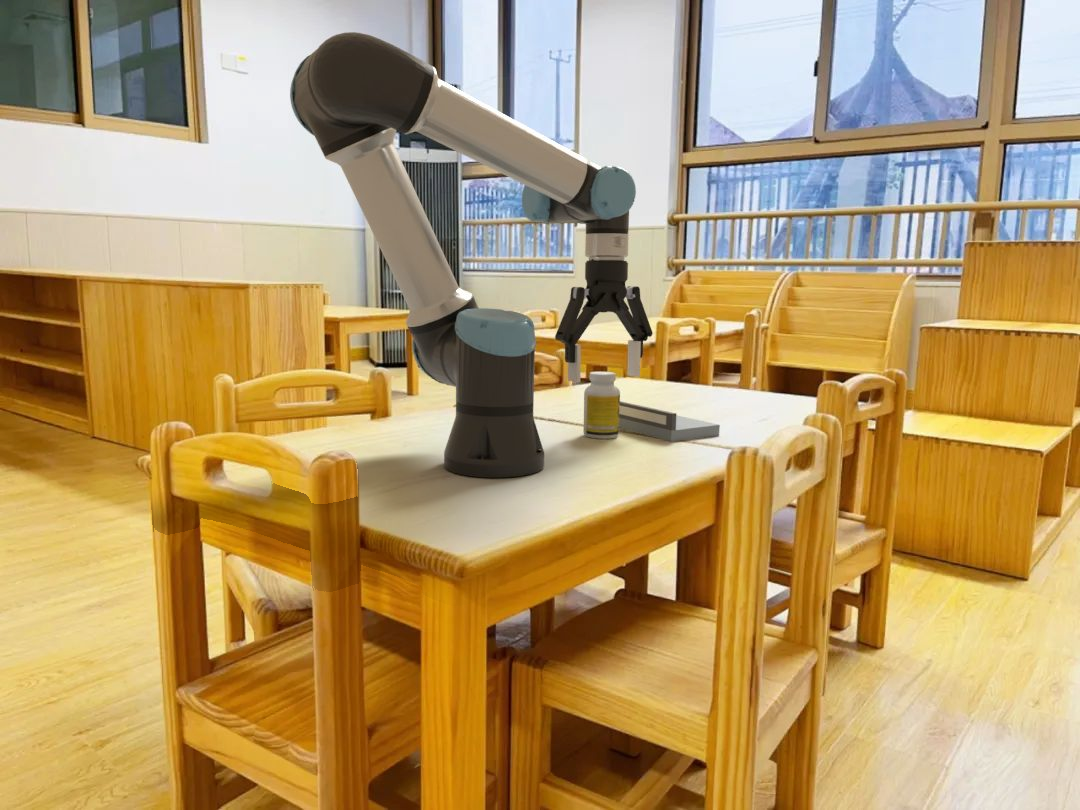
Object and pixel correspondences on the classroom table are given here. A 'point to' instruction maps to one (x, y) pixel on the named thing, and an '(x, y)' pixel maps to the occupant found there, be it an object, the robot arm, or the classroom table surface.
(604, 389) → the pill bottle
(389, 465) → the classroom table surface
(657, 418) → the grey piece
